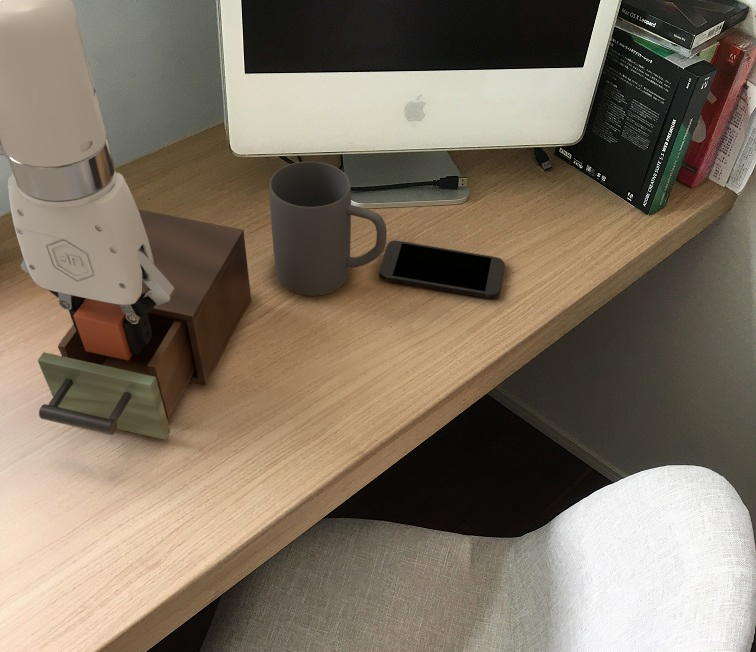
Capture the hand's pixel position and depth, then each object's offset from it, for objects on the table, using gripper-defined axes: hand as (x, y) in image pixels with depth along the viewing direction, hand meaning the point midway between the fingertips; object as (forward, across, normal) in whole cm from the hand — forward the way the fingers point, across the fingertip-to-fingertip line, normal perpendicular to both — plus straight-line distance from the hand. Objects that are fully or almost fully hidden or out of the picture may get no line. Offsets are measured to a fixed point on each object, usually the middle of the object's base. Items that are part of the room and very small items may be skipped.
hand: (116, 338), depth 75 cm
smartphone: (+9, +27, +30) cm, 42 cm away
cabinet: (+9, 0, +12) cm, 14 cm away
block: (0, 0, 0) cm, 0 cm away
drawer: (+8, 0, 0) cm, 8 cm away
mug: (+9, +14, +26) cm, 30 cm away
